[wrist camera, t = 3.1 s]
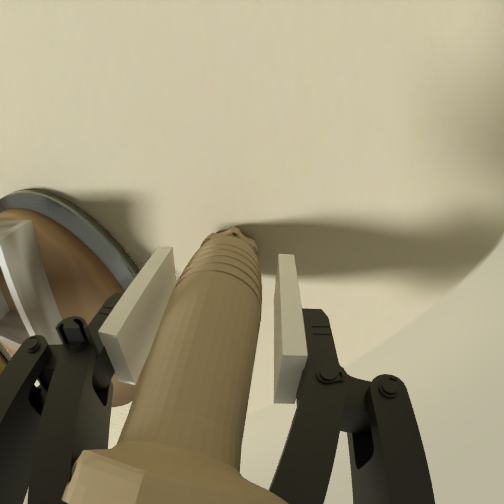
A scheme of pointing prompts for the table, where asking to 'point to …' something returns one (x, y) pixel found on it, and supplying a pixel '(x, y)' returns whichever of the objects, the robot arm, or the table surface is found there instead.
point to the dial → (50, 283)
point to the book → (2, 363)
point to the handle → (189, 393)
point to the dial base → (77, 229)
